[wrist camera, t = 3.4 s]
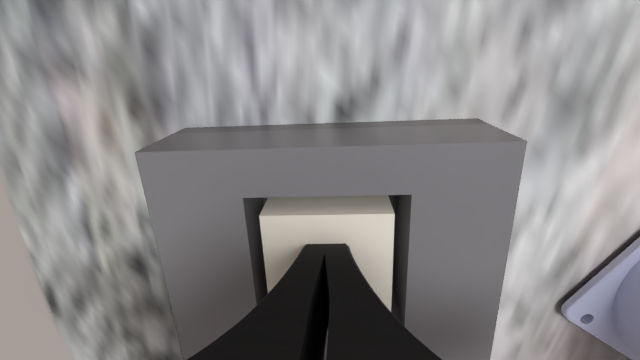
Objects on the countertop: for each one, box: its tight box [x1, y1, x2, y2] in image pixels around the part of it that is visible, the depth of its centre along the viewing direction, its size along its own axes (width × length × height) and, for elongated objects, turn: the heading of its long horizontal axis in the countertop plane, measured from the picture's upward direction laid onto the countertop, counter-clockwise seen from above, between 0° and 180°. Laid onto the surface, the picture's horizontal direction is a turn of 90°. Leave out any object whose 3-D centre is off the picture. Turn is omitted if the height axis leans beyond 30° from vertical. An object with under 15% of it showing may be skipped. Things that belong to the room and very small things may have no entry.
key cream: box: [259, 195, 395, 312], centre depth 12 cm, size 4×4×2 cm
